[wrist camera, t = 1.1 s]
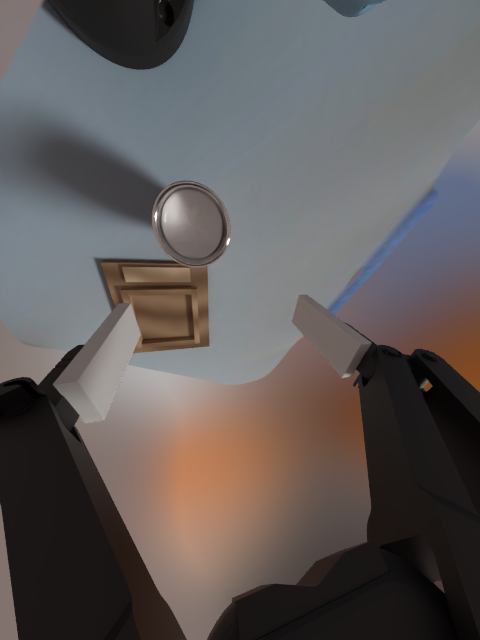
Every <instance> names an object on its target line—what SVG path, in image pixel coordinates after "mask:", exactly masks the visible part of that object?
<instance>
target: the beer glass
mask: <svg viewBox="0 0 480 640" xmlns="http://www.w3.org/2000/svg"><path fill="white" fill-rule="evenodd" d="M152 226H153V231H154V234H155V237H156V239H157V241H158V243H159V245H160V246H161V248H162V249H163V251H164V252H165V253H166V254H167V255H168V256H169V257H170V258H172V259H173V260H174V261H176V262H178V263H180V264H182V265H185V266H188V267H204V266H208V265H210V264H212V263H214V262H216V261H217V260H218V259H219V258H220V257H221V256H222V255H223V254H224V252H225V250H226V248H227V246H228V244H229V240H230V234H231V225H230V219H229V215H228V212H227V210H226V208H225V206H224V204H223V202H222V201H221V199H220V198H219V197H218V196H217V195H216V194H215V193H214V192H213V191H212V190H211V189H209V188H208V187H206V186H204V185H202V184H200V183H197V182H193V181H179V182H175V183H173V184H171V185H169V186H167V187H166V188H165V189H164V190H163V191H162V192H161V193H160V194H159V196H158V197H157V199H156V201H155V203H154V207H153V211H152Z"/></svg>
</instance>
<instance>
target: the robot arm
mask: <svg viewBox="0 0 480 640" xmlns="http://www.w3.org/2000/svg"><path fill="white" fill-rule="evenodd" d="M48 1H49V2H50V4H51V5H52V6H53V8H54V9H55V10H56V12H57V13H58V14H59V15H60V17H61V18H62V19H63V20H64V21H65V23H66V24H67V25H68V26H69V27H70V28H71V29H72V30H73V31H74V32H75V34H77V35H78V36H79V37H80V38H81V39H82V40H83V41H84V42H85V43H86V44H87V45H88V46H90V47H91V48H92V49H93V50H95V51H96V52H97V53H99V54H100V55H102V56H103V57H105V58H106V59H108V60H110V61H112V62H114V63H116V64H118V65H121V66H124V67H127V68H131V69H139V70H140V69H151V68H154V67H157V66H159V65H161V64H163V63H164V62H166V61H167V60H168V59H170V58H171V57H172V56H173V54H174V53H175V52H176V51H177V49H178V48H179V46H180V45H181V43H182V41H183V39H184V37H185V34H186V32H187V29H188V26H189V23H190V19H191V14H192V9H193V2H194V0H48ZM323 1H324V2H326V3H327V4H328V5H329V6H331V7H332V8H333V9H334V10H335V11H337V12H338V13H339V14H341V15H343V16H346V17H357V16H360V15H362V14H364V13H366V12H367V11H369V10H371V9H372V8H373V7H374V6H376V5H377V4H378V3H382V2H383V1H385V0H323ZM292 322H293V323H294V324H295V326H296V327H297V328H298V329H299V330H300V331H301V332H302V334H303V335H304V336H305V337H306V338H307V339H308V340H309V341H310V342H311V344H312V345H313V346H314V347H315V348H316V349H317V350H318V352H319V353H320V354H321V355H322V356H323V357H324V358H325V359H326V361H327V362H328V363H329V364H330V365H331V366H332V367H333V368H334V369H335V371H336V372H337V373H338V374H339V375H340V376H341V377H342V378H345V377H350V376H352V375H353V374H354V372H355V370H357V371H359V373H360V374H359V376H358V377H357V379H356V380H355V382H354V384H353V386H355V385H356V384H359V386H358V388H359V393H360V403H361V412H362V421H363V431H364V441H365V450H366V459H367V469H368V478H369V488H370V497H371V513H370V516H369V519H368V523H367V542H365V543H362V544H359V545H356V546H353V547H350V548H347V549H344V550H341V551H338V552H336V553H334V554H331V555H329V556H327V557H325V558H322V559H320V560H318V561H316V562H315V563H314V564H313V565H312V567H311V568H310V569H309V570H308V571H307V572H306V574H305V575H304V576H303V577H302V578H301V579H300V581H299V582H298V583H297V584H296V585H284V584H269V585H261V586H259V587H256V588H254V589H252V590H250V591H248V592H245V593H243V594H241V595H238V596H236V597H234V598H232V603H231V604H230V605H229V606H228V607H227V608H226V610H225V611H224V612H223V613H222V615H221V616H220V618H219V619H218V620H217V622H216V624H215V625H214V627H213V629H212V631H211V632H210V634H209V636H208V639H207V640H480V392H479V391H478V390H476V389H475V388H474V387H473V386H472V385H471V384H470V383H469V382H468V381H467V380H465V379H464V378H463V377H462V376H461V375H460V374H459V373H458V372H457V371H456V370H454V369H453V368H452V367H451V366H450V365H449V364H448V363H447V362H446V361H445V360H444V359H442V358H441V357H440V356H438V355H436V354H435V353H433V352H430V351H428V350H423V349H416V350H414V352H413V353H412V354H411V355H404V354H402V353H401V352H400V351H398V350H396V349H395V348H392V347H390V346H386V345H378V346H377V345H376V344H375V343H374V342H372V341H371V340H369V339H368V338H367V337H365V336H364V335H363V334H361V333H359V332H358V331H357V330H355V329H354V328H353V327H351V326H350V325H349V324H347V323H345V322H343V321H342V320H340V319H339V318H337V317H336V316H335V315H333V314H332V313H331V312H329V311H328V310H327V309H325V308H324V307H323V306H321V305H320V304H319V303H317V302H316V301H315V300H313V299H312V298H311V297H309V296H308V295H299V297H298V301H297V305H296V309H295V313H294V316H293V320H292ZM140 336H141V333H140V330H139V327H138V324H137V321H136V318H135V315H134V311H133V308H132V305H131V303H121V304H118V305H117V306H116V307H115V308H114V310H113V311H112V312H111V313H110V315H109V316H108V317H107V318H106V320H105V321H104V322H103V323H102V324H101V326H100V327H99V328H98V329H97V331H96V332H95V333H94V334H93V335H92V337H91V338H90V339H89V340H88V342H87V343H86V344H85V345H78V346H76V347H75V348H73V349H72V350H70V351H69V352H68V353H67V354H66V355H65V356H64V357H63V358H62V359H61V361H60V362H59V363H58V364H57V365H56V366H55V368H53V369H52V371H51V372H50V373H49V374H48V375H47V376H46V377H45V378H44V380H43V381H42V382H41V383H40V384H39V385H37V384H36V383H35V382H34V381H33V380H32V379H31V378H27V377H21V378H16V379H12V380H9V381H6V382H3V383H1V384H0V503H1V508H2V516H3V523H4V531H5V539H6V547H7V554H8V562H9V569H10V577H11V585H12V592H13V600H14V607H15V616H16V623H17V631H18V638H19V640H187V639H186V637H185V635H184V634H183V631H182V629H181V628H180V626H179V624H178V622H177V620H176V618H175V616H174V614H173V612H172V610H171V609H170V607H169V606H168V604H167V603H166V601H165V600H164V599H163V597H162V596H161V595H160V593H159V591H158V590H157V588H156V586H155V584H154V582H153V580H152V578H151V576H150V574H149V572H148V570H147V568H146V566H145V564H144V562H143V560H142V558H141V556H140V554H139V552H138V550H137V548H136V546H135V544H134V542H133V540H132V538H131V536H130V534H129V532H128V530H127V528H126V526H125V524H124V522H123V520H122V518H121V516H120V514H119V512H118V510H117V508H116V506H115V504H114V502H113V500H112V498H111V496H110V494H109V492H108V490H107V488H106V486H105V484H104V482H103V480H102V478H101V476H100V474H99V472H98V470H97V468H96V466H95V464H94V462H93V460H92V458H91V456H90V454H89V452H88V450H87V448H86V446H85V444H84V442H83V440H82V438H81V436H80V434H79V432H78V430H77V428H76V427H75V426H74V425H75V423H76V421H77V420H78V418H79V417H80V418H81V419H82V420H83V422H84V423H90V422H96V421H101V420H104V419H105V417H106V415H107V412H108V410H109V408H110V405H111V403H112V400H113V398H114V396H115V394H116V391H117V389H118V387H119V384H120V382H121V380H122V377H123V375H124V373H125V370H126V368H127V366H128V363H129V361H130V359H131V357H132V354H133V352H134V350H135V347H136V345H137V343H138V340H139V338H140ZM428 382H430V383H431V384H432V386H433V387H432V388H430V389H429V390H428V391H427V392H426V391H425V390H424V389H423V387H424V386H425V385H426V384H427V383H428ZM440 580H442V584H443V587H444V591H445V593H444V592H442V591H441V590H440V589H439V588H438V587H437V586H436V585H435V584H434V582H435V581H440Z"/></svg>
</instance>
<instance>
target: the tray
mask: <svg viewBox="0 0 480 640" xmlns="http://www.w3.org/2000/svg"><path fill="white" fill-rule="evenodd" d="M101 266H102V269H103V272H104V275H105V278H106V281H107V284H108V287H109V290H110V293H111V296H112V299H113V302H114V306H115V307H116V306H117V305H118V304H121V303H131V305H132V308H133V311H134V315H135V318H136V321H137V324H138V327H139V330H140V333H141V336H140V338H139V340H138V343H137V345H136V347H135V350H134V352H133V353H140V352H151V351H162V350H173V349H184V348H195V347H206V346H209V319H208V274H207V266H204V267H188V266H185V265H182V264H180V263H169V262H128V261H103V262H101Z"/></svg>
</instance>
